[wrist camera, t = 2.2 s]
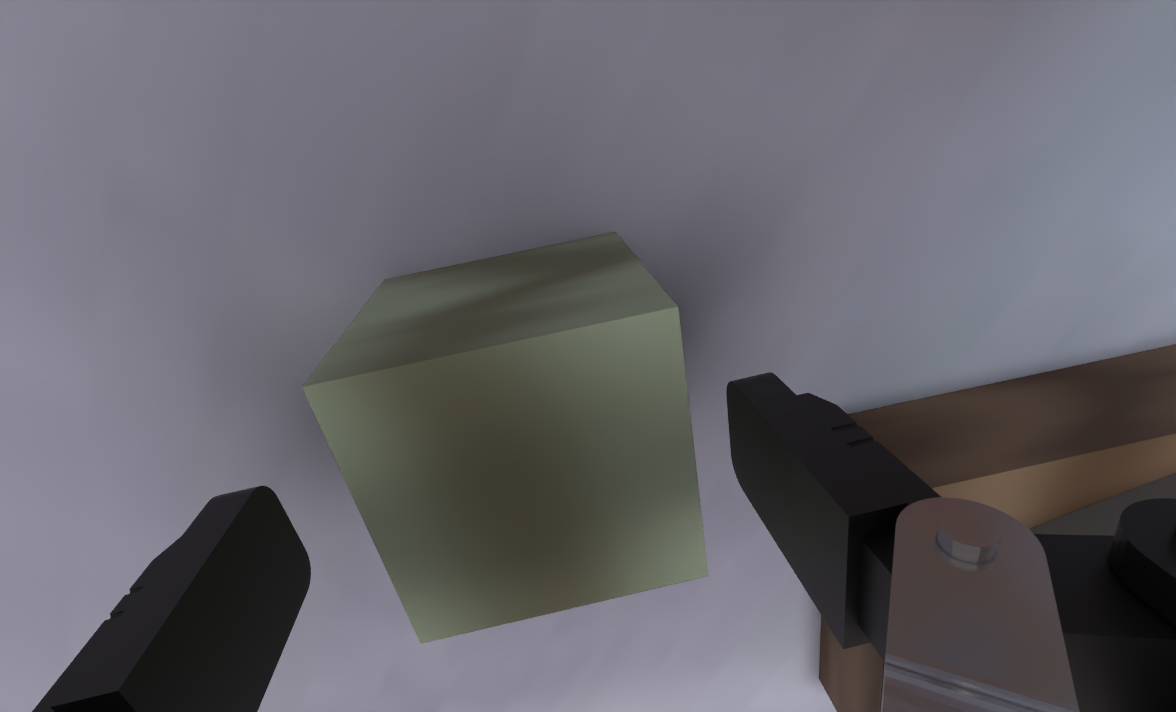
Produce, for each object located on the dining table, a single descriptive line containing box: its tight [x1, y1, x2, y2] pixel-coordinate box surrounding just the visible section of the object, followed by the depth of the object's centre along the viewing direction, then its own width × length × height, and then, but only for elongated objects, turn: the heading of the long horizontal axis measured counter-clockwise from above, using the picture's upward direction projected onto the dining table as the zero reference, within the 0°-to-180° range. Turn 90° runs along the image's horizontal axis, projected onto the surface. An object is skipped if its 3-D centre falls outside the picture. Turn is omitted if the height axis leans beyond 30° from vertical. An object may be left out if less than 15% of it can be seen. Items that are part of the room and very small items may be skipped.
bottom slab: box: [819, 344, 1176, 712], centre depth 17 cm, size 12×12×4 cm
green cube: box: [302, 232, 708, 643], centre depth 11 cm, size 6×6×6 cm
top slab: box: [1029, 473, 1176, 536], centre depth 14 cm, size 9×9×4 cm
